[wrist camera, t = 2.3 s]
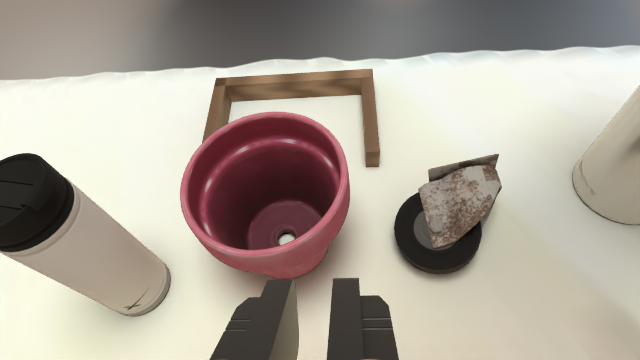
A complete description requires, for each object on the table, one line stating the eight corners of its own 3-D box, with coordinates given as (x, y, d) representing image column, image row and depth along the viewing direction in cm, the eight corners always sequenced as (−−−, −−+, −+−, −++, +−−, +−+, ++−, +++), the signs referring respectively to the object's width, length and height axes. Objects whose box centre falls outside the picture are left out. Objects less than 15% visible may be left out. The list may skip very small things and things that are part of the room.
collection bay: (371, 85, 54) (372, 68, 52) (378, 166, 47) (379, 151, 45) (222, 94, 56) (216, 78, 53) (206, 173, 49) (198, 159, 46)
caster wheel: (407, 283, 42) (389, 196, 46) (520, 264, 40) (490, 174, 44) (401, 273, 36) (380, 174, 40) (533, 250, 34) (497, 148, 38)
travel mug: (159, 323, 39) (8, 240, 23) (101, 310, 40) (-83, 222, 24) (183, 263, 42) (67, 152, 26) (129, 253, 44) (-16, 141, 27)
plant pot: (227, 189, 47) (188, 117, 36) (345, 177, 47) (340, 100, 36) (218, 311, 39) (165, 265, 29) (359, 298, 39) (358, 247, 28)
